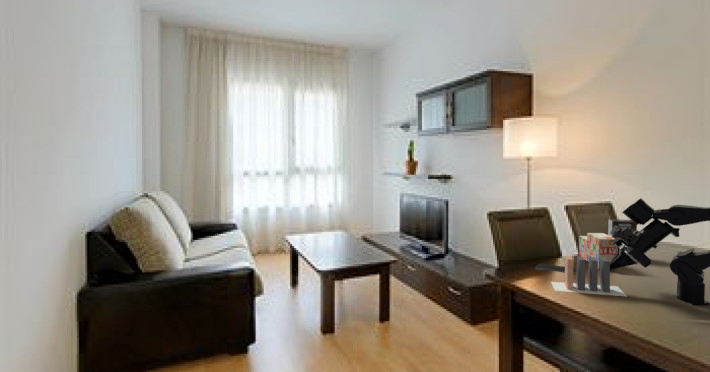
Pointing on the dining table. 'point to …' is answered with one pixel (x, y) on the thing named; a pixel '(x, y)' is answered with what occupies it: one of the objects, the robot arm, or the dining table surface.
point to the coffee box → (621, 225)
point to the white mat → (588, 289)
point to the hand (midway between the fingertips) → (608, 268)
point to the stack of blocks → (597, 247)
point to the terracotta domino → (569, 272)
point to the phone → (552, 268)
